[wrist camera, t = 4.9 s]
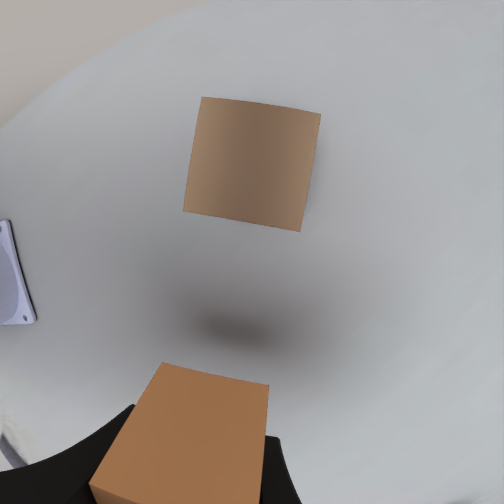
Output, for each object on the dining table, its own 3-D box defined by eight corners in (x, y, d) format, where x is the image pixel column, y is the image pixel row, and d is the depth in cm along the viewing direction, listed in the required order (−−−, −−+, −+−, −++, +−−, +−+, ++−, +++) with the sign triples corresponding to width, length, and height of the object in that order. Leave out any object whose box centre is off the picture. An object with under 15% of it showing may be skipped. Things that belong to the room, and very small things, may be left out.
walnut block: (217, 199, 16) (183, 211, 11) (229, 124, 15) (201, 96, 10) (293, 212, 16) (299, 231, 10) (306, 137, 15) (320, 114, 9)
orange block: (161, 431, 12) (113, 537, 6) (162, 362, 11) (88, 483, 5) (250, 451, 12) (233, 569, 6) (269, 385, 11) (256, 529, 5)
